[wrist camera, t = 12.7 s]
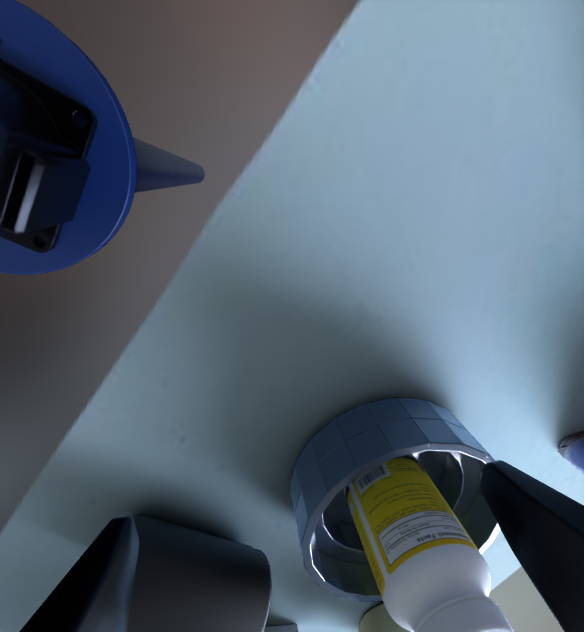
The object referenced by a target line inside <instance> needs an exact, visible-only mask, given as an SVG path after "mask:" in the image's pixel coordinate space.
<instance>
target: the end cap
mask: <svg viewBox="0 0 584 632" xmlns="http://www.w3.org/2000/svg"><path fill="white" fill-rule="evenodd" d="M133 519H134V523H135V527H136V530H137V534H138V538H139V552H138V559H137V566H136V572H135V579H134V586H133V592H132V599H131V606H130V613H129V619H128V625H127V631H126V632H263V631H264V628H265V625H266V621H267V618H268V613H269V608H270V601H271V590H272V579H271V570H270V565H269V562H268V559H267V557H266V555H265V554H264V553H263V552H262V551H261V550H258V549H254V548H253V547H251V546H248V545H245V544H241V543H238V542H234V541H231V540H227V539H224V538H220V537H217V536H213V535H210V534H206V533H202V532H199V531H195V530H192V529H188V528H185V527H181V526H178V525H174V524H171V523H167V522H164V521H160V520H157V519H153V518H149V517H146V516H142V515H135V516H133Z"/></svg>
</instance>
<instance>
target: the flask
mask: <svg viewBox="0 0 584 632" xmlns="http://www.w3.org/2000/svg"><path fill="white" fill-rule="evenodd" d="M560 444H561V446H560V447H562V445H568V446H566V447H563V448H560V450H559V451H558V452H559V453H560V454H561V455H562V457H563V458H565V459H566V460H567V461H569V462H570V463H571V464H572V465H573V466H574V467H575V468H576V469H578V470H579V471H581V472H582V473H583V474H584V432H579V433H577V434H575V435H573V436H572V435H571V436H569V437H566V438H565V440H563V441H562V442H561V443H560Z"/></svg>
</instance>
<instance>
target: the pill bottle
mask: <svg viewBox="0 0 584 632" xmlns="http://www.w3.org/2000/svg"><path fill="white" fill-rule="evenodd" d="M343 489H344V494H345V498H346V501H347V504H348V506H349V509H350V512H351V515H352V517H353V520H354V523H355V526H356V528H357V531H358V534H359V536H360V539H361V542H362V545H363V547H364V550H365V553H366V556H367V558H368V561H369V564H370V567H371V570H372V572H373V575H374V578H375V580H376V583H377V586H378V589H379V592H380V594H381V597H382V600H383V602H384V605H385V607H386V609H387V611H388V613H389V615H390V616H391V617H392V619H393V620H394V621H395V622H396V623H397V624H398V625H400V626H401V627H403V628H404V629H406V630H408V631H411V632H514V631H513V629H512V627H511V626H510V624H509V622H508V620H507V619H506V617H505V616H504V614H503V612H502V610H501V609H500V607H499V606H498V605H497V604H496V602H495V601H494V600H493V599H491V598H490V597H488V595H489V592H490V587H491V577H490V572H489V568H488V566H487V563H486V561H485V560H484V558H483V556H482V555H481V553H480V551H479V550H478V548H477V547H476V546H475V544H474V543H473V541H472V540H471V538H470V537H469V535H468V534H467V532H466V531H465V529H464V528H463V526H462V525H461V523H460V522H459V520H458V519H457V517H456V516H455V514H454V513H453V511H452V510H451V508H450V507H449V505H448V504H447V503H446V501H445V500H444V498H443V497H442V495H441V494H440V492H439V491H438V489H437V488H436V486H435V485H434V483H433V482H432V480H431V479H430V477H429V476H428V474H427V473H426V471H425V470H424V469H423V467H422V466H421V464H420V463H419V462H418V460H417V459H416V458H415V457H414V456H413V455H412V454H409V455H405V456H401V457H396V458H393V459H391V460H389V461H387V462H385V463H383V464H381V465H379V466H376V467H374V468H372V469H370V470H368V471H366V472H364V473H362V474H361V475H359V476H358V477H357V478H356V479H354V480H353V481H352V482H351V483H350V484H348V485H347V486H346V487H345V488H343Z"/></svg>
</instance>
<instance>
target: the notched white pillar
mask: <svg viewBox="0 0 584 632" xmlns="http://www.w3.org/2000/svg"><path fill="white" fill-rule="evenodd" d="M263 632H298V628H297V624H292V625H280V626H269V627H265V628H264V631H263Z"/></svg>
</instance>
